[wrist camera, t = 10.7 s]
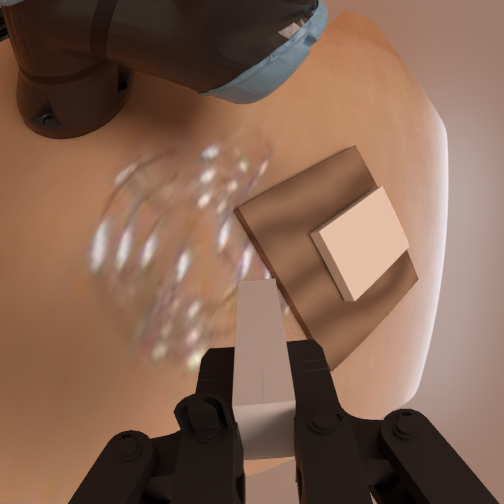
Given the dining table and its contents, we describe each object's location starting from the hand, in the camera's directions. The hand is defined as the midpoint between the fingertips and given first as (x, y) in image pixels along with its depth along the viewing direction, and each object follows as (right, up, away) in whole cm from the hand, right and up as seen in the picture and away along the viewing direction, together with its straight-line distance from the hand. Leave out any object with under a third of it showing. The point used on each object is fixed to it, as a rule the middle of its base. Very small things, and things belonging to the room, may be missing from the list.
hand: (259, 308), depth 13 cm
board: (+12, +2, +29) cm, 32 cm away
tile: (+10, 0, +25) cm, 27 cm away
